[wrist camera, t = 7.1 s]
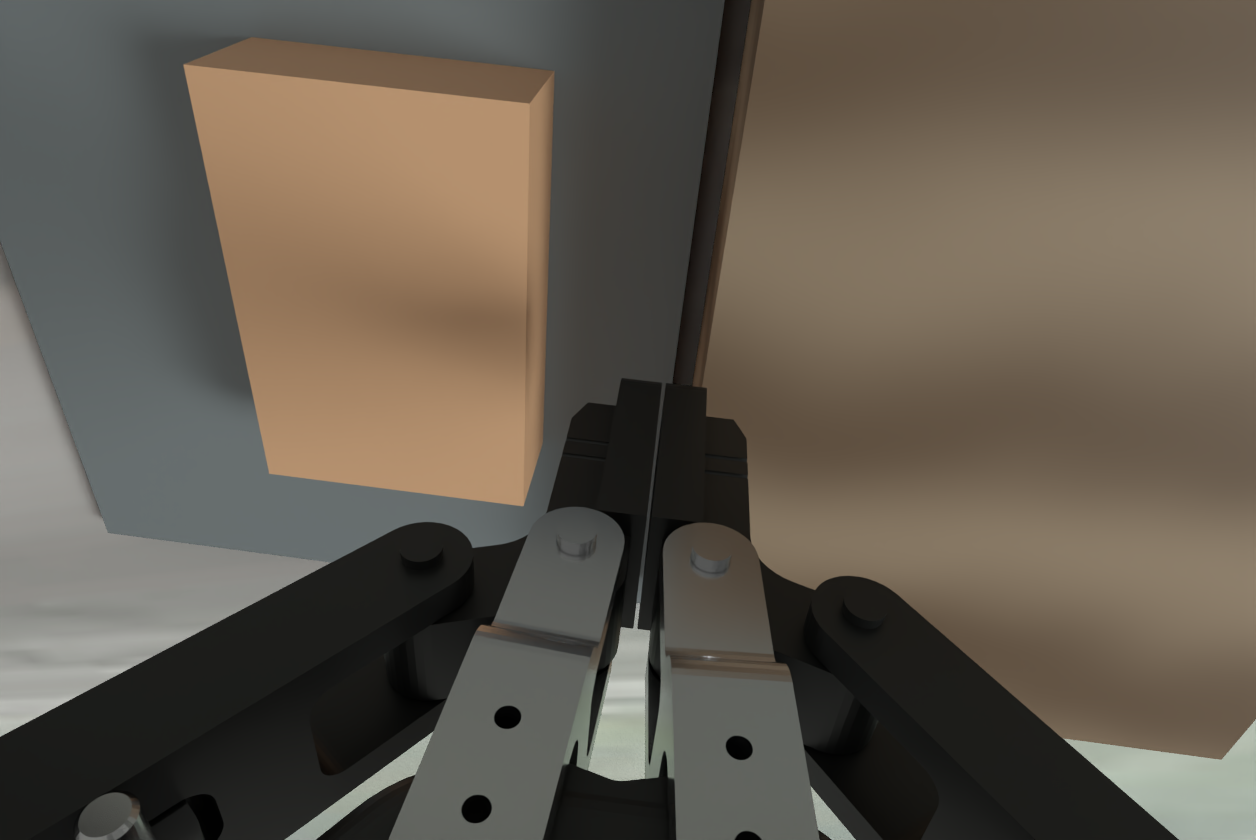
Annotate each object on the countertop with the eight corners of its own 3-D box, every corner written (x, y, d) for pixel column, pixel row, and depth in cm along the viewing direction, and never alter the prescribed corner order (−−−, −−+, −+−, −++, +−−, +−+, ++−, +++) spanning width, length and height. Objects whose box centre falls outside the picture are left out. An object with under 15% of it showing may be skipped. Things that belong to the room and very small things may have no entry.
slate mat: (-206, -384, 14) (-234, -392, 13) (763, -289, 13) (765, -293, 13) (118, 521, 25) (107, 532, 25) (643, 590, 25) (641, 603, 24)
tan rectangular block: (529, 103, 14) (554, 70, 16) (182, 64, 14) (251, 37, 16) (523, 506, 19) (542, 442, 21) (269, 473, 19) (312, 413, 21)
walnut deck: (783, -206, 14) (800, -224, 10) (1653, -118, 13) (1957, -107, 10) (663, 569, 24) (653, 682, 21) (1152, 632, 24) (1221, 759, 20)
